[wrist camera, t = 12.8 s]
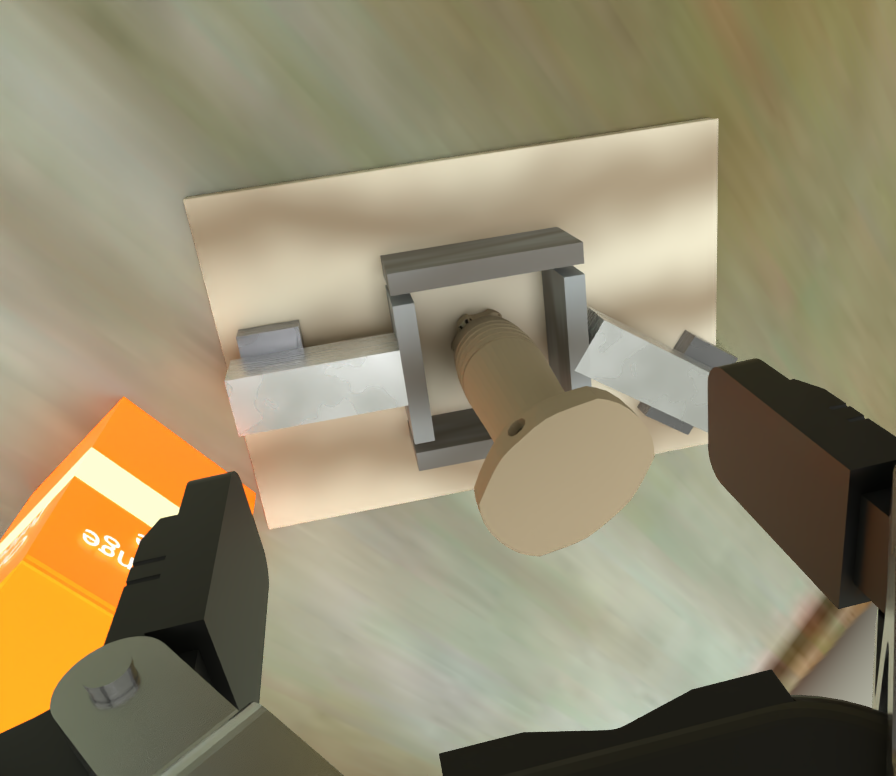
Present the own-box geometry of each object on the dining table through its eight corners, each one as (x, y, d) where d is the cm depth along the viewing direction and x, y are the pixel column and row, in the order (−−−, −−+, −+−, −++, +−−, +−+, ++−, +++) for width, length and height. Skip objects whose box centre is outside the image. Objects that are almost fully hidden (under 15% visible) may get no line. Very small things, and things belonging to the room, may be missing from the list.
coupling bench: (186, 196, 36) (167, 213, 31) (708, 117, 38) (762, 122, 34) (269, 519, 43) (264, 572, 38) (706, 434, 45) (750, 474, 41)
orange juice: (124, 393, 39) (-50, 672, 20) (258, 492, 42) (213, 809, 24) (28, 495, 40) (-217, 845, 22) (166, 584, 43) (56, 953, 25)
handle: (404, 348, 39) (452, 501, 25) (495, 260, 38) (595, 371, 24) (466, 405, 41) (542, 577, 27) (554, 323, 40) (679, 460, 26)
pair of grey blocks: (228, 331, 37) (218, 358, 34) (728, 246, 40) (770, 263, 36) (272, 504, 41) (267, 545, 38) (725, 417, 44) (763, 447, 40)
